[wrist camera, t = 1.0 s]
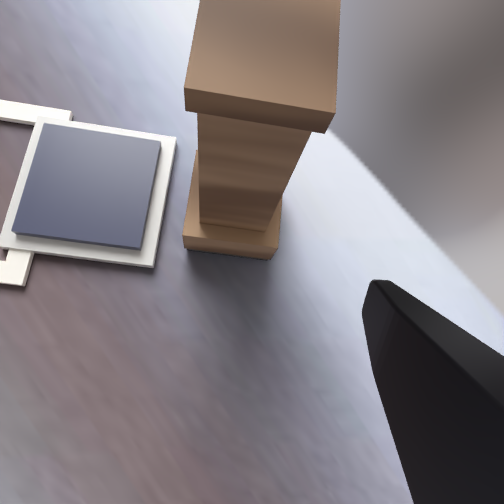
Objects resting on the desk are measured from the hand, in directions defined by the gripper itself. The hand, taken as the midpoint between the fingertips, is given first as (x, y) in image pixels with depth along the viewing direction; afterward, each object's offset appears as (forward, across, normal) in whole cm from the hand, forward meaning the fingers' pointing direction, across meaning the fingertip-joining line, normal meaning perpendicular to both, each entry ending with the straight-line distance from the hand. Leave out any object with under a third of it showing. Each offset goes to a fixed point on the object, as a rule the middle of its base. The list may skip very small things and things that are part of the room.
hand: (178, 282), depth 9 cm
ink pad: (+15, +7, +4) cm, 17 cm away
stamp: (+15, -1, +5) cm, 16 cm away
